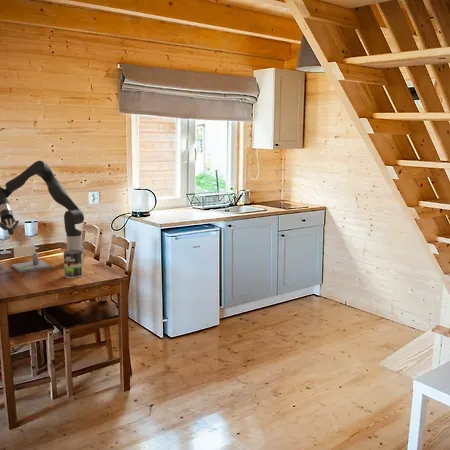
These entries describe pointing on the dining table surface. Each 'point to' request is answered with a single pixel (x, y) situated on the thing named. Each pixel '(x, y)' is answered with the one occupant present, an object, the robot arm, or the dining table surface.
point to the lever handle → (26, 252)
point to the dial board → (30, 266)
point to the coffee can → (73, 263)
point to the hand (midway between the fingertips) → (11, 234)
